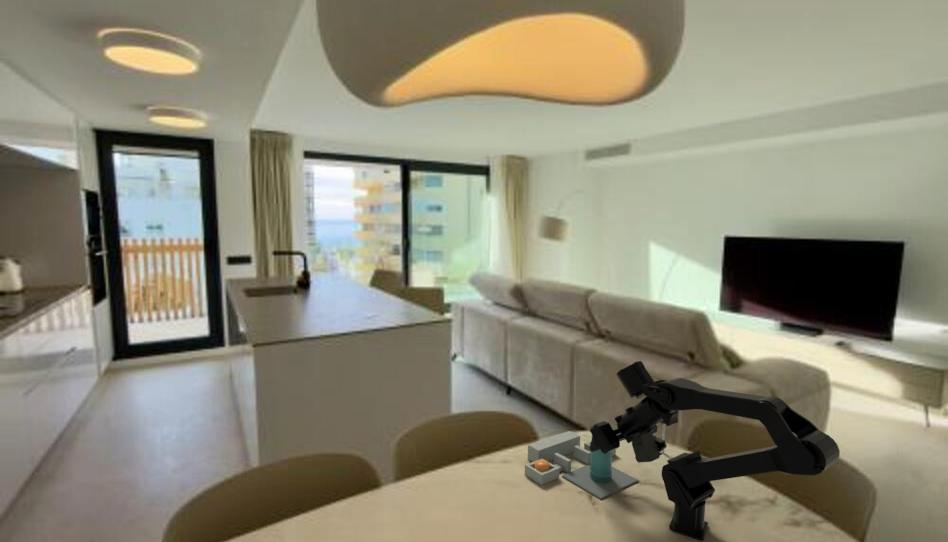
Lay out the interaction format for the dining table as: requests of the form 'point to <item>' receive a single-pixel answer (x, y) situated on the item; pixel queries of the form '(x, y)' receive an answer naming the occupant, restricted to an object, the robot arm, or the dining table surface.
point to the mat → (599, 489)
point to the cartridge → (601, 466)
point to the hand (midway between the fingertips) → (603, 445)
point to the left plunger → (542, 465)
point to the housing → (556, 456)
